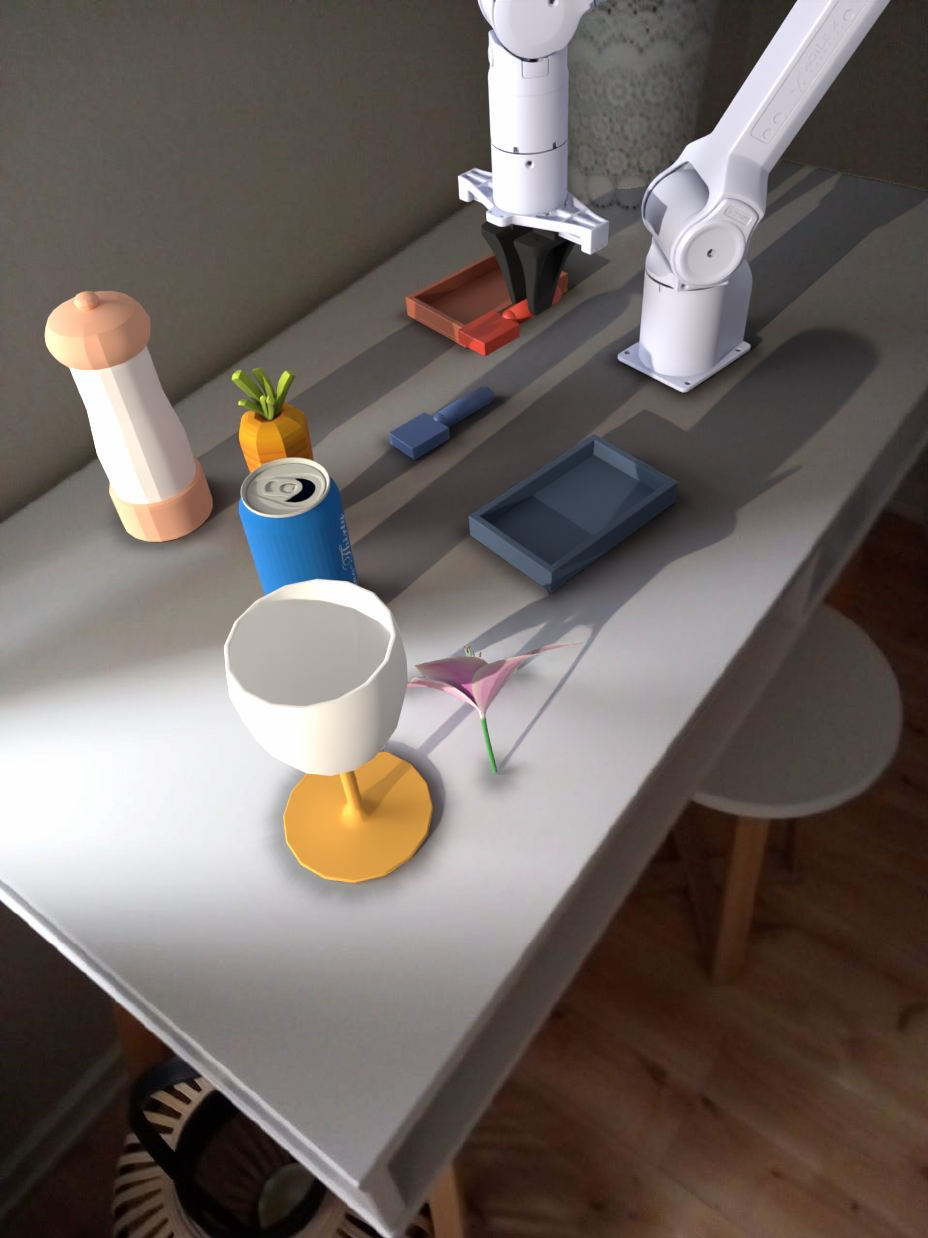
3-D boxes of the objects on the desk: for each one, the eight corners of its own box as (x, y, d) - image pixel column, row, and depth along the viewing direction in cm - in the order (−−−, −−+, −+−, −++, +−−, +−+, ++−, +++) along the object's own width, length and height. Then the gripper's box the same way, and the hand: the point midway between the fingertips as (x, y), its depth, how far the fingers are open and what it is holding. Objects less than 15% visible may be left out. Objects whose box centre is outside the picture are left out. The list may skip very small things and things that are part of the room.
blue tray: (593, 453, 80) (593, 433, 78) (675, 501, 75) (678, 481, 74) (469, 535, 74) (468, 515, 73) (551, 593, 70) (551, 573, 68)
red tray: (507, 263, 102) (507, 244, 100) (567, 291, 97) (568, 273, 96) (407, 315, 96) (405, 296, 95) (466, 348, 92) (464, 329, 90)
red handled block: (545, 293, 85) (545, 276, 84) (572, 306, 83) (572, 288, 82) (458, 342, 80) (457, 325, 79) (485, 356, 79) (484, 339, 78)
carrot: (341, 518, 76) (307, 352, 65) (315, 561, 73) (274, 394, 62) (285, 507, 78) (242, 343, 67) (257, 549, 75) (206, 384, 64)
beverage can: (349, 653, 67) (319, 524, 58) (261, 643, 68) (218, 515, 59) (374, 586, 71) (348, 456, 62) (290, 577, 72) (254, 449, 64)
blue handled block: (479, 391, 87) (478, 376, 86) (504, 406, 85) (503, 390, 84) (390, 444, 82) (387, 428, 81) (414, 460, 81) (412, 445, 80)
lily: (608, 711, 64) (578, 575, 61) (562, 812, 54) (524, 655, 50) (443, 720, 69) (408, 595, 65) (373, 815, 58) (327, 672, 55)
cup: (256, 856, 57) (179, 688, 45) (324, 735, 63) (272, 557, 51) (397, 904, 54) (355, 738, 43) (455, 773, 60) (432, 595, 48)
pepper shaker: (231, 499, 79) (162, 280, 65) (169, 554, 75) (80, 334, 61) (167, 471, 82) (87, 257, 68) (103, 523, 78) (4, 307, 64)
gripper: (424, 130, 74) (439, 294, 84) (563, 184, 66) (561, 357, 76) (491, 102, 77) (497, 263, 87) (631, 150, 69) (621, 320, 79)
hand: (531, 305), depth 82 cm, fingers closed on red handled block, 1 cm apart
